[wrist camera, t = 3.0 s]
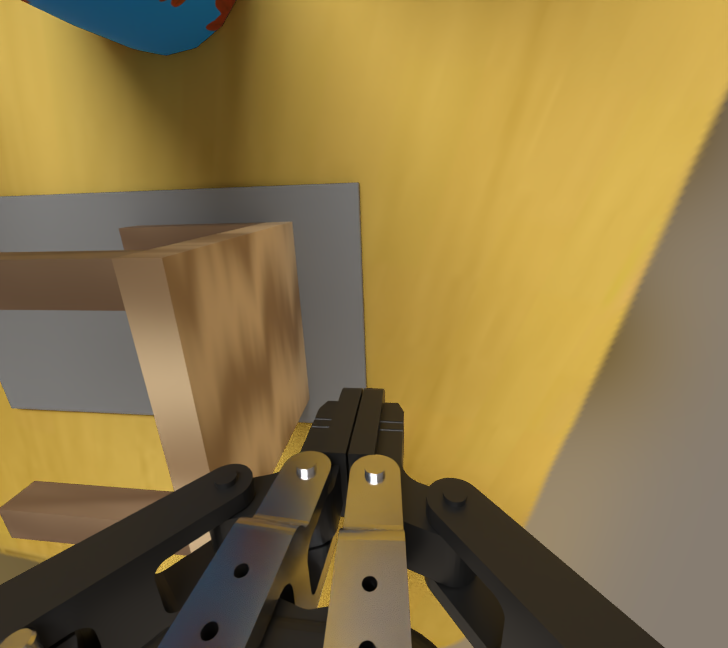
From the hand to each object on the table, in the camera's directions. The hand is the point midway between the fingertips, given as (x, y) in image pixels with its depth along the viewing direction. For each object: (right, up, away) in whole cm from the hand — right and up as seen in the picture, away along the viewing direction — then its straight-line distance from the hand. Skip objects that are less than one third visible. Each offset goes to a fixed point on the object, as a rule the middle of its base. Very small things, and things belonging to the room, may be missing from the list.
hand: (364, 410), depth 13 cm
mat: (-14, +4, +12) cm, 19 cm away
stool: (-9, +4, +11) cm, 15 cm away
